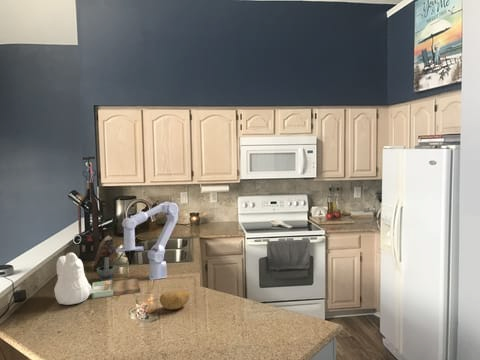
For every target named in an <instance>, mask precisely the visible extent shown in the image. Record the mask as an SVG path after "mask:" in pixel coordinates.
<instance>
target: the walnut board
mask: <svg viewBox="0 0 480 360" xmlns="http://www.w3.org/2000/svg"><path fill="white" fill-rule="evenodd" d="M112 282H113V295H114V296H113V297H116V296H123V295H129V294H130V295H131V294H137V293H141V287H140V284H139V280H138V278H131V279H125V280H124V279H123V280H116V281H115V280H114V281H112Z"/></svg>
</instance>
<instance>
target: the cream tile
mask: <svg viewBox="0 0 480 360" xmlns="http://www.w3.org/2000/svg"><path fill="white" fill-rule="evenodd" d="M100 291H103V286H96V287H94V292H100Z"/></svg>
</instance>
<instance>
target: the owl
mask: <svg viewBox="0 0 480 360" xmlns="http://www.w3.org/2000/svg"><path fill="white" fill-rule="evenodd" d="M114 248H115V247H114V238H113V237H111V236H110V235H109V234H108V235H107V236H105V237H104V238H103V239H102V240H101V242H100V243H99V246H98V248H97V252H96V255H95V258H94V263H93V267H92V268H93V270H97V268H99V267H102V266H104V261H105V260H104V258H105V257H109V266H114V263H115V258H116V256H115V251H114Z"/></svg>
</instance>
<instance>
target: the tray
mask: <svg viewBox="0 0 480 360" xmlns="http://www.w3.org/2000/svg"><path fill="white" fill-rule="evenodd" d="M108 281H110V287H109V290H107V291H104V286H105V282H106V281H101V280H100V281H95V282H92V285H91V289H92V293H91V300H96V299H103V298H109V297H115V296H114V295H113V282H114V281H113V279H112V280H108ZM96 286H103V291H100V292H94V287H96Z"/></svg>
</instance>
